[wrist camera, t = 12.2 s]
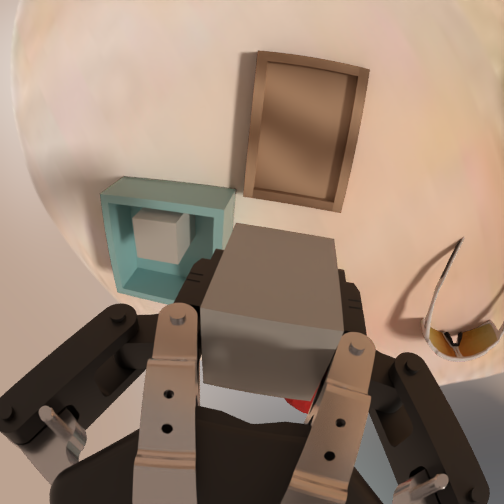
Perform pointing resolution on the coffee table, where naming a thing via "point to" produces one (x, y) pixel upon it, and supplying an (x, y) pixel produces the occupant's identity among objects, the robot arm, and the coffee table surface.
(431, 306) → the sunglasses
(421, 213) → the coffee table surface
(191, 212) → the teal open box
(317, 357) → the block
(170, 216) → the matte taupe cube
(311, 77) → the tray
